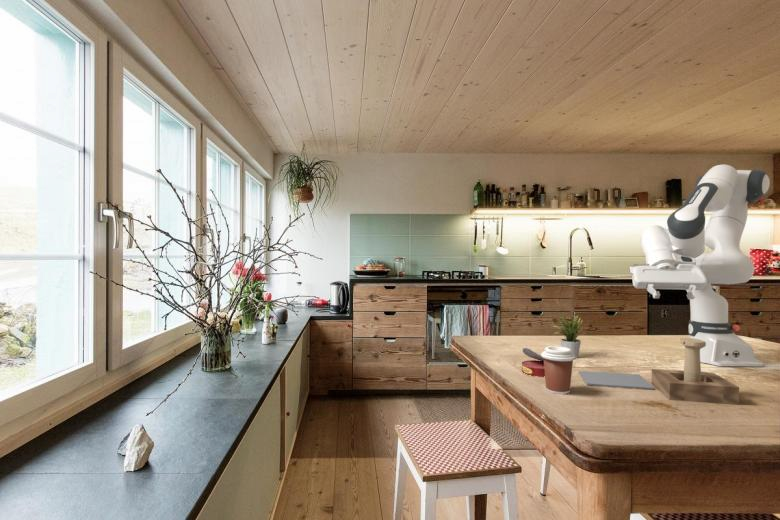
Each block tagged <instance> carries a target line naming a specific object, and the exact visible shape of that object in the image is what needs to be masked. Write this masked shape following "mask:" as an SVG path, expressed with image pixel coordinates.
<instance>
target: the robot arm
mask: <svg viewBox="0 0 780 520" xmlns="http://www.w3.org/2000/svg"><path fill="white" fill-rule="evenodd" d="M770 182H771V181H770V177H769V174H768V173H767V172H766V171H765V170H761V169H752V170H751V169H750V170H749V169H736V168H735V167H734V166H732V165H729V164H718V165H715V166H712V167H710V168H709V169H708V170H707V172H706V173H702V174H701V175H700V176H699V177H698V178H697V179H696V181H695V187H694V188H693V190H692V192H690V194H689V196H688V197H687V198H686V200H685V201H684V202H683V204H682V205H681V206H679V208H677V209H675V211H673V212H672V213H671V214H669V216H668V218H667V220H666V224H667V228H665V227H663V226H661V225H658V224H655V225H651V226H648V227H647V228H646V229H644V230H643V231H642V232H641V234H640V241H639V242H640V246H641V251H642V254H643V255H644V257H645V264H643V263H642V264H636V263H634V264H633V265H630V266H629V267H628V269H629V273H630V274H631V276H632V278H631V279H632V285H633V287H634V288H635V289H637V290H639V289H640V290H641V289H642V290H646V291H647V292H648V293H649V294H650V295H652V298H653V299H660V297H661V293H660V290H681V291H682V290H685V291H686V292H687V293H686V297H687V300H689V306H690V307H689V309H690V319H688V335H689V336H688V338H694V339H699V340H703V341H705V342H706V346H705V347H703V348H701V349H700V363H703V364H708V365H709V364H710V365H713V366H718V367H758V368H759V367H764V363H763V361H761V360H759V359H757V358H756V355H755V350H754V348H753V346H752V345H751V344H750V343H748V342H747V341H745V340H744V339H743V338H741V337H740V336H738V335H737V334H735V333H734V331H736V332H738V331H740V330H741V328H740V325H737V324H732V323H730V322H729V302H728V301H727V299H726V298H725V297H724V296H723V295H721V294H719V293H717V292H716V291H715V290H714V289H713V287H712V284H716V285H717V284H719V285H736V284H745V283H747V282H749V281H750V280H751V278H753V275H754V273H755V264H754V262H753V261H752V260H751V258H750V257H749V256H748V255H747V254H745V253H744V252H742V250H741V248H740V247H741V246H740V244H741V239H742V236H743V233H744V230H745V227H746V225H747V220H748V219H747V218H748V213H749V212H748V211H749V210H748V209H749V208H748V205H749V206H751V205H755V204H756V203H757V202H758V201H759V200H761V199H762V198H764V197H765V195H766V194H767V193H768V190H769V188H770ZM705 212H706V213H711V215H710V218H709V220H708V222H707V224H706V216H705ZM705 225H706V227H705ZM706 247H707V248H708V249H711V250H712V252H705V250H706Z"/></svg>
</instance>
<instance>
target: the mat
mask: <svg viewBox="0 0 780 520" xmlns="http://www.w3.org/2000/svg"><path fill="white" fill-rule="evenodd" d="M578 374H579V376H580V375H581V376H580V377H581V379H582V378H583V379H582V380H583V381H585V382H584V383H585V385H586V384H587V385H593V386H592V387H602V386H608V387H607V388H617V387H624V388H623V389H632V388H636V389H637V390H646V391H647V390H649V391H655V390H656V388H655V387H654V386H653V385H652V383H650V382H648V381H647V380H646V379H645V378H644V377H643V376H642V375H641V374H640V373H639V374H636V373H622V372H621V373H620V372H619V373H617V372H605V371H604V372H603V371H586V370H578ZM587 385H586V386H587ZM636 389H635V390H636Z"/></svg>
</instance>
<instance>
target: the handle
mask: <svg viewBox="0 0 780 520" xmlns="http://www.w3.org/2000/svg"><path fill="white" fill-rule="evenodd" d="M680 344H681V345H682V346H684V347H685V348H684V350H685V355H684V363H683V364H684V367H683V371H684V381H695V382H701V372H702V369H701V368H702V367H701V362H700V349H701V348H703V347H705V346H706V342H705V341H703V340H699V339H694V338H689V337H681V338H680Z"/></svg>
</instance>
